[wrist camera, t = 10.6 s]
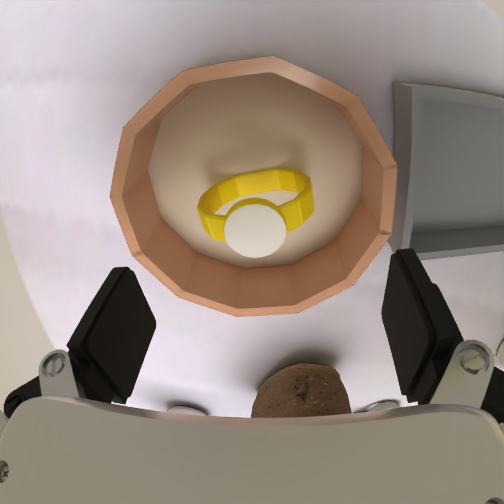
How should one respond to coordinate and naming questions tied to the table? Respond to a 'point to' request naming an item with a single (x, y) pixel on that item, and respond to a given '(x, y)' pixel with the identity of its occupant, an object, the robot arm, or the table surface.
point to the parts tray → (448, 171)
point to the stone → (301, 393)
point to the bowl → (246, 161)
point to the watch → (256, 210)
